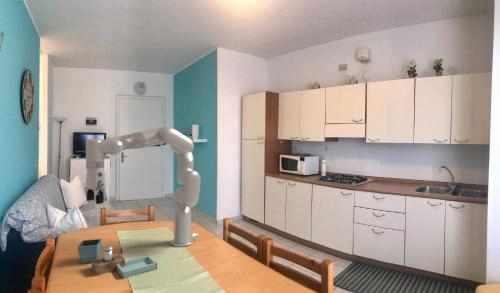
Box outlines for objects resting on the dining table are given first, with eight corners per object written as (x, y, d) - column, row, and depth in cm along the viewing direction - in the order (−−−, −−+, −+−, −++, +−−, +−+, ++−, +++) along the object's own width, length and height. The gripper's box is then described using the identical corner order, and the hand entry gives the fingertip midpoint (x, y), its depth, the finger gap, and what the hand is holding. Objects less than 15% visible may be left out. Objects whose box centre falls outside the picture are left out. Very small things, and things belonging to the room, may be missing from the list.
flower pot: (77, 265, 136) (76, 246, 135) (82, 257, 144) (82, 240, 144) (97, 263, 138) (97, 245, 138) (102, 256, 146) (101, 238, 146)
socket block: (119, 261, 141) (119, 253, 140) (124, 268, 134) (124, 259, 133) (91, 268, 133) (91, 259, 133) (96, 275, 126) (95, 266, 126)
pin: (112, 265, 137) (112, 244, 136) (114, 268, 133) (114, 247, 133) (101, 267, 134) (101, 246, 133) (104, 271, 130) (103, 250, 130)
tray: (148, 260, 142) (148, 255, 142) (157, 268, 133) (157, 263, 133) (116, 269, 132) (116, 263, 132) (123, 278, 124) (123, 272, 124)
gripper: (112, 166, 132) (111, 203, 133) (95, 163, 143) (95, 197, 143) (94, 167, 126) (94, 206, 127) (78, 164, 137) (78, 200, 138)
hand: (95, 201), depth 135 cm, fingers open, 9 cm apart
